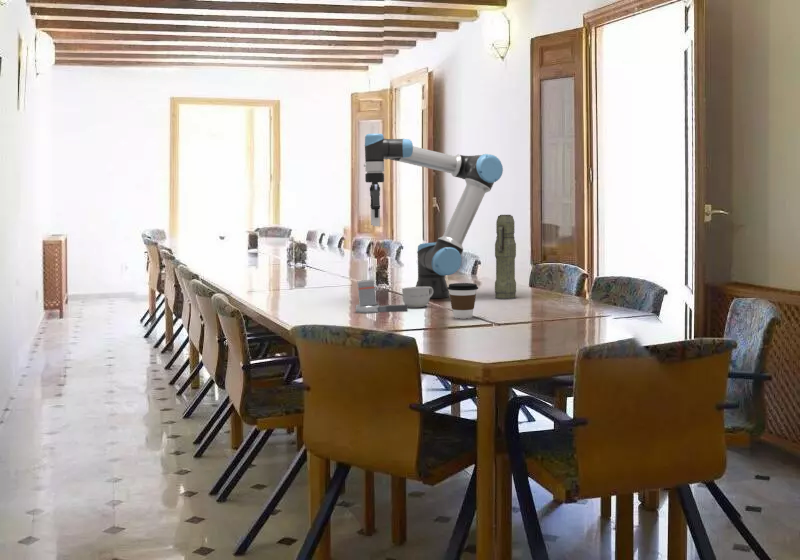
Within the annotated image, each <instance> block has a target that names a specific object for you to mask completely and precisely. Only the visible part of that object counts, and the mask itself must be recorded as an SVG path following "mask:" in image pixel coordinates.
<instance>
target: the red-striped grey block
mask: <svg viewBox="0 0 800 560" xmlns="http://www.w3.org/2000/svg"><path fill="white" fill-rule="evenodd" d="M357 292H358V302H359V303H358V304H360V306H368V305H376V304H377V302H376V291H375V280H374V279H365V280H357Z"/></svg>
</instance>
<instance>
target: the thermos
mask: <svg viewBox="0 0 800 560" xmlns="http://www.w3.org/2000/svg"><path fill="white" fill-rule="evenodd" d="M495 225H496V226H495V229H496V232H495V233H496V238H495V239H496V240H495V242H494V257H495V281H494V294H495V299H496V300H514V299H516V298H517V295H516V293H517V281H516V278H515V277H516V276H515V275H516V264H515V263H516V256H517V243H516V239H515V220H514V216H513V215H512V214H500V215H498V216H497V218H496V224H495Z"/></svg>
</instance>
